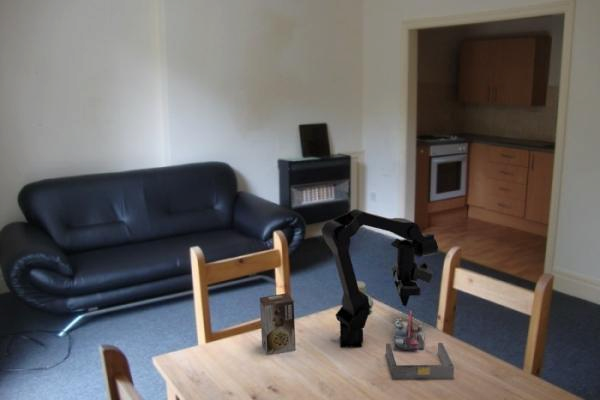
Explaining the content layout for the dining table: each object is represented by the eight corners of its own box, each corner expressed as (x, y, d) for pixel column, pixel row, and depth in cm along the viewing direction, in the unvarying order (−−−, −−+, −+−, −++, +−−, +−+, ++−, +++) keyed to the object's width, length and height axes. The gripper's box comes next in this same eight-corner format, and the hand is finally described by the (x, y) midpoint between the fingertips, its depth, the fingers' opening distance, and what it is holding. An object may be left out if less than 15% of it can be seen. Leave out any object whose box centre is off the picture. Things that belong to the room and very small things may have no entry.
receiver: (392, 380, 152) (393, 368, 151) (385, 354, 166) (385, 343, 165) (453, 379, 151) (454, 368, 151) (441, 353, 165) (442, 342, 164)
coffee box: (289, 341, 175) (288, 292, 171) (296, 350, 169) (294, 300, 165) (261, 346, 172) (259, 296, 168) (266, 356, 166) (264, 305, 162)
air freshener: (338, 308, 197) (337, 282, 195) (356, 303, 202) (356, 276, 200) (358, 319, 189) (358, 291, 186) (376, 313, 193) (377, 286, 191)
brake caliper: (432, 348, 164) (407, 315, 163) (401, 366, 167) (377, 334, 167) (433, 331, 174) (410, 300, 174) (404, 348, 178) (381, 318, 177)
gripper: (438, 269, 167) (436, 318, 170) (425, 249, 185) (424, 293, 188) (400, 269, 167) (399, 318, 170) (391, 249, 185) (390, 294, 189)
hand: (404, 305), depth 180 cm, fingers closed
